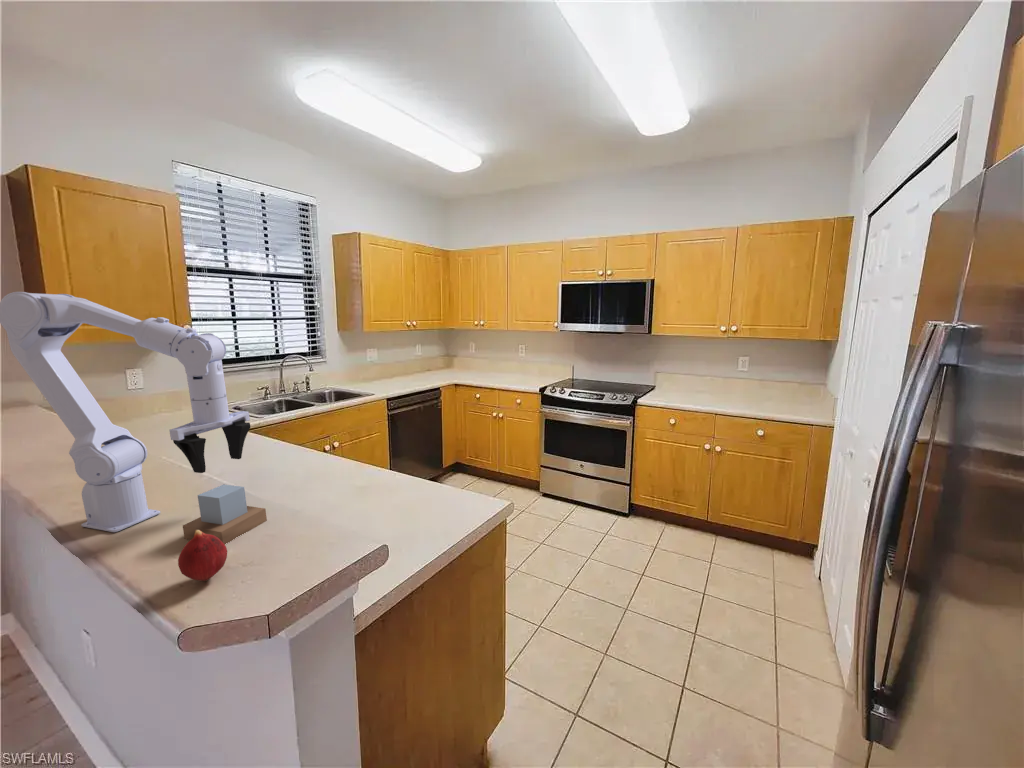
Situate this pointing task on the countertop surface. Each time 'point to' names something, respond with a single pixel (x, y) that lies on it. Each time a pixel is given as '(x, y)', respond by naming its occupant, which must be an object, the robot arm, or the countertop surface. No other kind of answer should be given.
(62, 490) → the countertop surface
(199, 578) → the onion
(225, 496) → the cube
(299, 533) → the countertop surface
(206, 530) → the base
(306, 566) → the countertop surface
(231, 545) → the countertop surface
